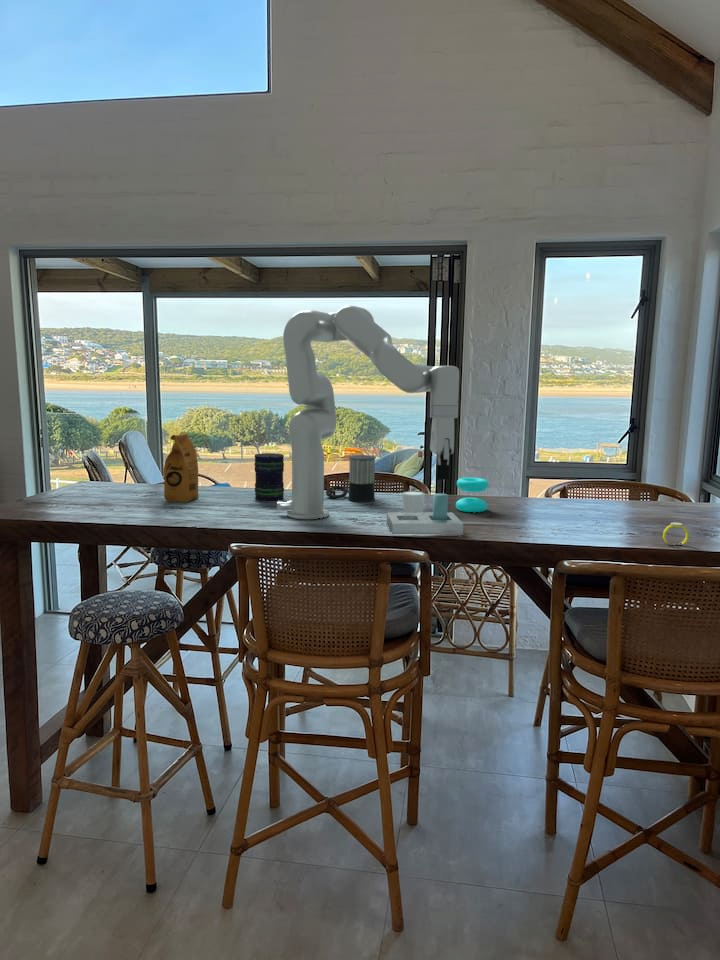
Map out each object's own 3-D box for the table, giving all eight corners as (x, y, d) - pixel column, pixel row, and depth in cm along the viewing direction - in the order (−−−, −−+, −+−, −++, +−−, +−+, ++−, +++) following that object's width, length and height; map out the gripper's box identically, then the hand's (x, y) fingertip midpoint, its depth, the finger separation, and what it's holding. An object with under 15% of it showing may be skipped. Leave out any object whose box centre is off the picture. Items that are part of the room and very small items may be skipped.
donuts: (454, 476, 218) (485, 477, 218) (453, 506, 219) (483, 507, 219) (459, 481, 208) (491, 482, 208) (458, 513, 209) (490, 513, 209)
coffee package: (159, 502, 219) (156, 434, 215) (175, 495, 231) (173, 431, 227) (188, 503, 217) (186, 435, 214) (203, 496, 229) (201, 432, 226)
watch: (664, 547, 173) (665, 524, 172) (661, 544, 176) (661, 522, 175) (689, 547, 172) (689, 524, 172) (685, 544, 175) (686, 521, 174)
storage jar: (254, 496, 231) (253, 453, 229) (283, 495, 233) (282, 453, 230) (255, 502, 221) (254, 457, 219) (285, 501, 223) (285, 456, 221)
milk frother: (378, 502, 225) (379, 458, 222) (332, 503, 221) (332, 459, 219) (367, 494, 238) (368, 453, 236) (323, 495, 235) (324, 453, 232)
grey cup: (423, 518, 201) (423, 495, 200) (400, 517, 202) (400, 494, 201) (425, 513, 208) (426, 491, 206) (403, 512, 209) (404, 490, 208)
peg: (433, 531, 184) (434, 496, 183) (431, 528, 188) (432, 493, 187) (447, 531, 185) (449, 496, 183) (445, 528, 189) (446, 493, 187)
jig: (392, 536, 179) (392, 523, 178) (386, 524, 192) (386, 512, 192) (462, 536, 180) (463, 523, 180) (451, 524, 194) (452, 512, 193)
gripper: (425, 410, 188) (423, 475, 191) (435, 413, 174) (433, 483, 177) (451, 410, 189) (449, 475, 192) (463, 413, 174) (461, 483, 177)
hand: (442, 479), depth 184 cm, fingers closed
